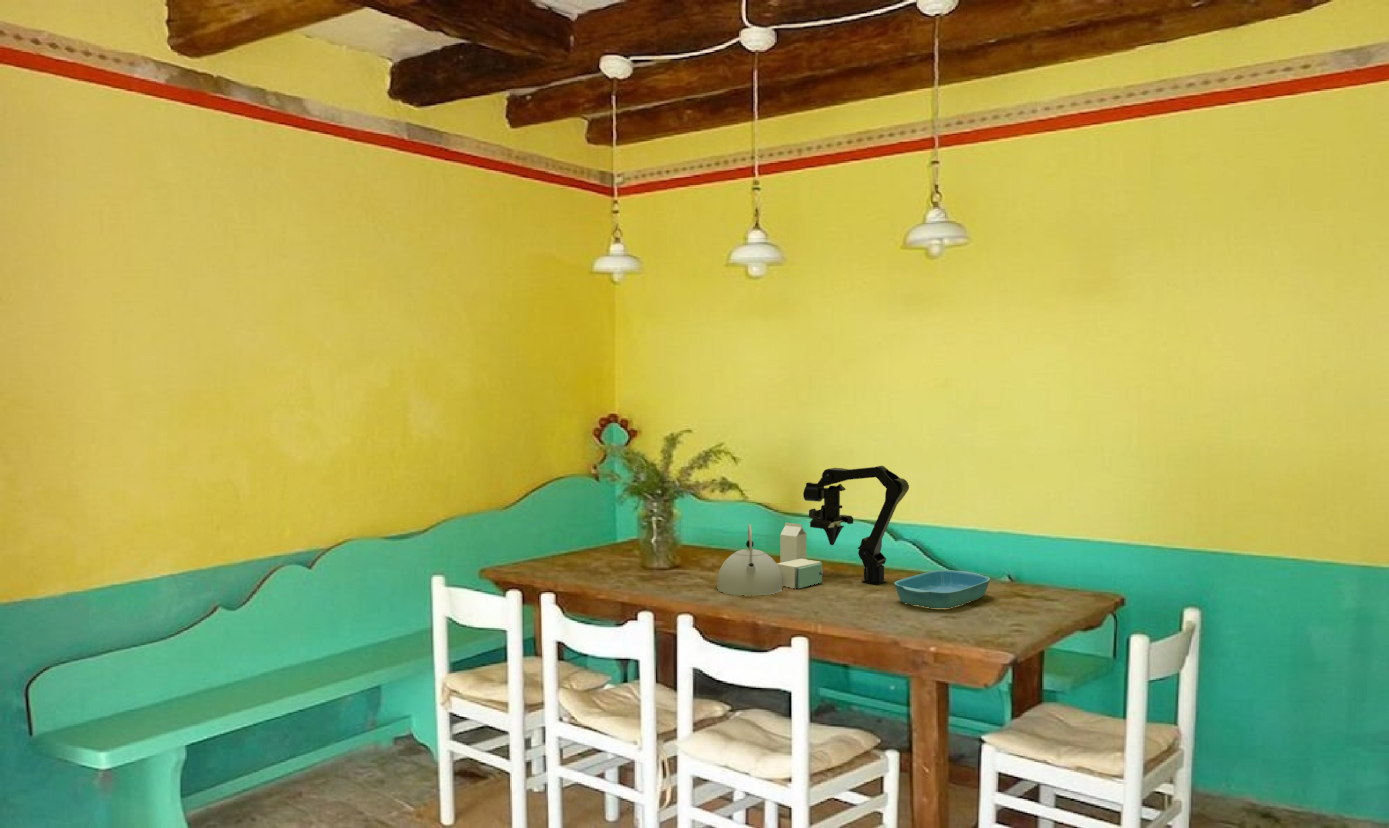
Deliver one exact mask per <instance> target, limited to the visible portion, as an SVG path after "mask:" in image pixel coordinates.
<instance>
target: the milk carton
mask: <svg viewBox="0 0 1389 828" xmlns="http://www.w3.org/2000/svg"><path fill="white" fill-rule="evenodd" d="M779 535H780V538H779V539H780V540H779V541H780V543H779V545H780V546H779V547H780V549H779V552H780V556H779V558H780V559H779V560H780V561H779V563H782V562H787V561H792V560H797V559H807V532H806V531H805V529H804V528H803V524H800V523H792V522H785V523H784V527H783V529H782V530H781V533H780V534H779Z"/></svg>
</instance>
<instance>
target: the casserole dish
mask: <svg viewBox="0 0 1389 828" xmlns="http://www.w3.org/2000/svg"><path fill="white" fill-rule="evenodd" d="M990 581H991V578H990V577H989V576H986V575H983V574H981V573H980V574H979V573H977V572H972V571H964V570H952V569H951V570H949V569H937V570H930V571H926V572H924V573H920V574H916V575H912V576H909V577H908V576H907V577H904V578H902V579H899V580H896V581H894V586H895V589H896V593H897V596H898V598H899V600H900V601H901V602H902V603H903V602H904V603H907V604H911V605H919V606H924V607H929V608H951V607H955V606H958V605H962V604H965V603H967V602H969V601H973V600H976V599H978V598H980V599H981V598H983V596H985V594H986V592H987V590H988V587H989V584H990ZM978 600H979V599H978ZM976 601H977V600H976ZM973 602H974V601H973ZM904 603H903V604H904ZM907 604H906V605H907ZM911 605H910V606H911ZM965 605H966V604H965ZM962 606H963V605H962Z"/></svg>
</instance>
